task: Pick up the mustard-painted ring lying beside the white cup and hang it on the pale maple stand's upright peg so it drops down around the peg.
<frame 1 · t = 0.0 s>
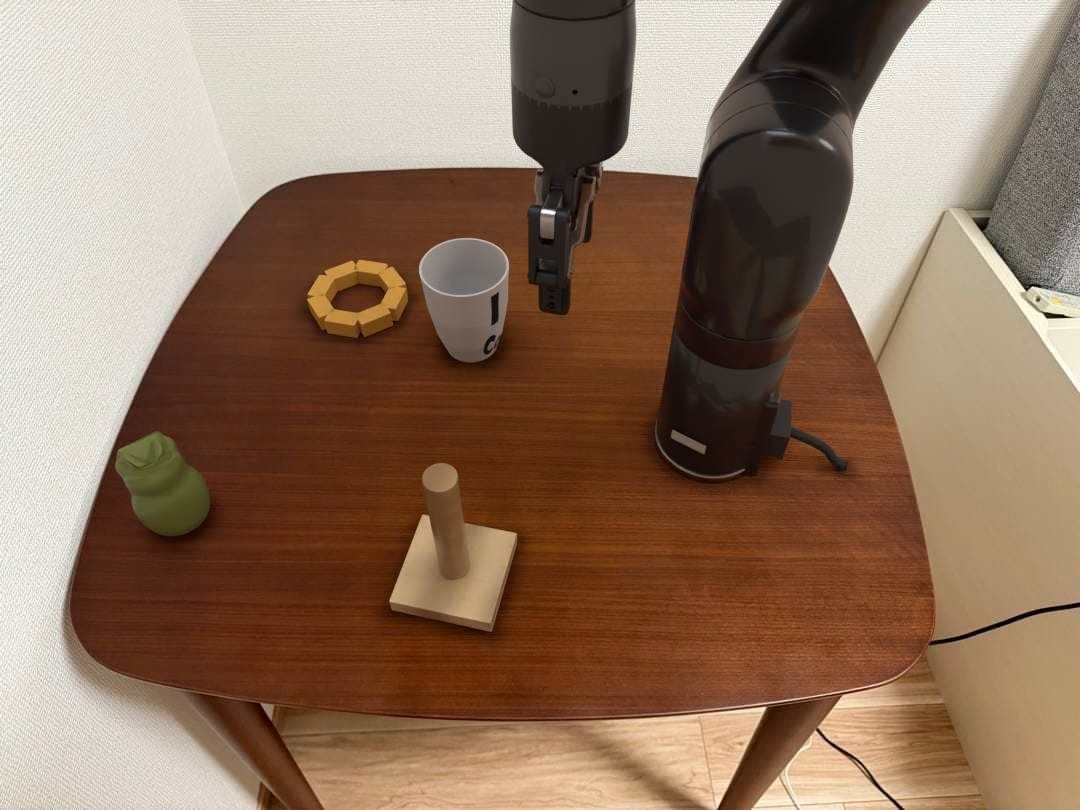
hand: (566, 273, 62), 17 cm above the table, tool pointing down, fingers open, 8 cm apart
stand: (456, 575, 65), on the table
cup: (471, 345, 82), on the table
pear: (185, 521, 69), on the table
ring: (359, 304, 85), on the table
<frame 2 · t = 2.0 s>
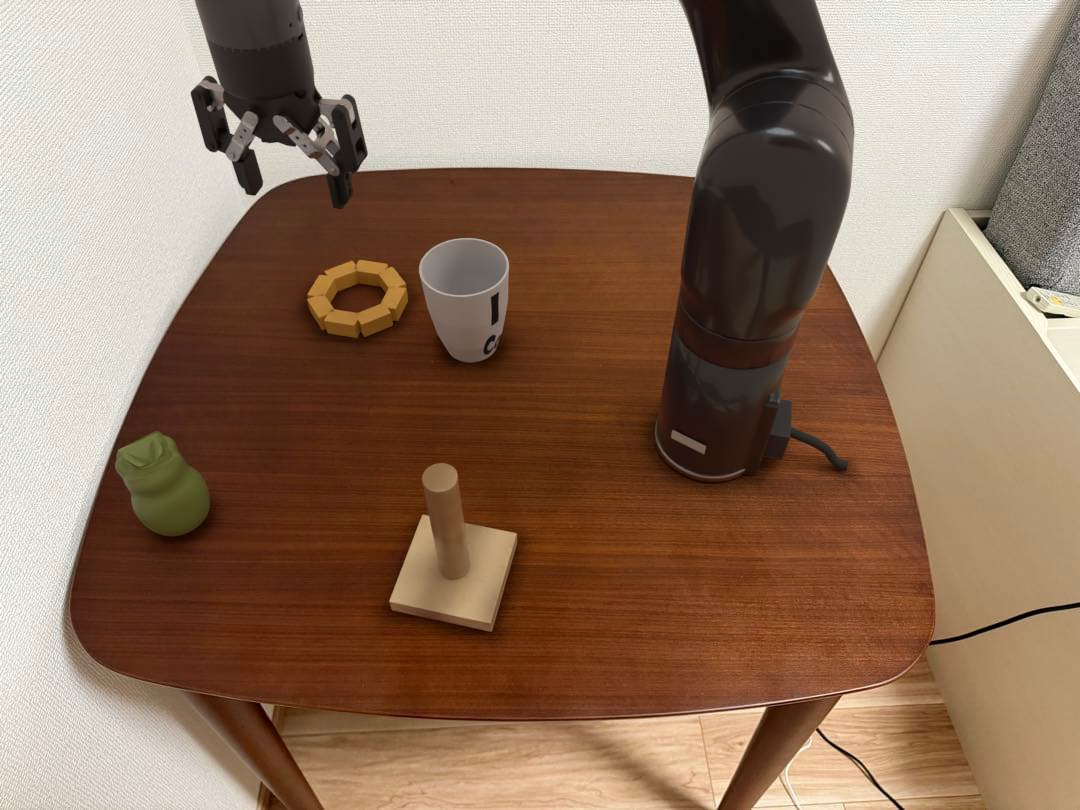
hand: (298, 197, 76), 13 cm above the table, tool pointing down, fingers open, 8 cm apart
nothing on the table moved.
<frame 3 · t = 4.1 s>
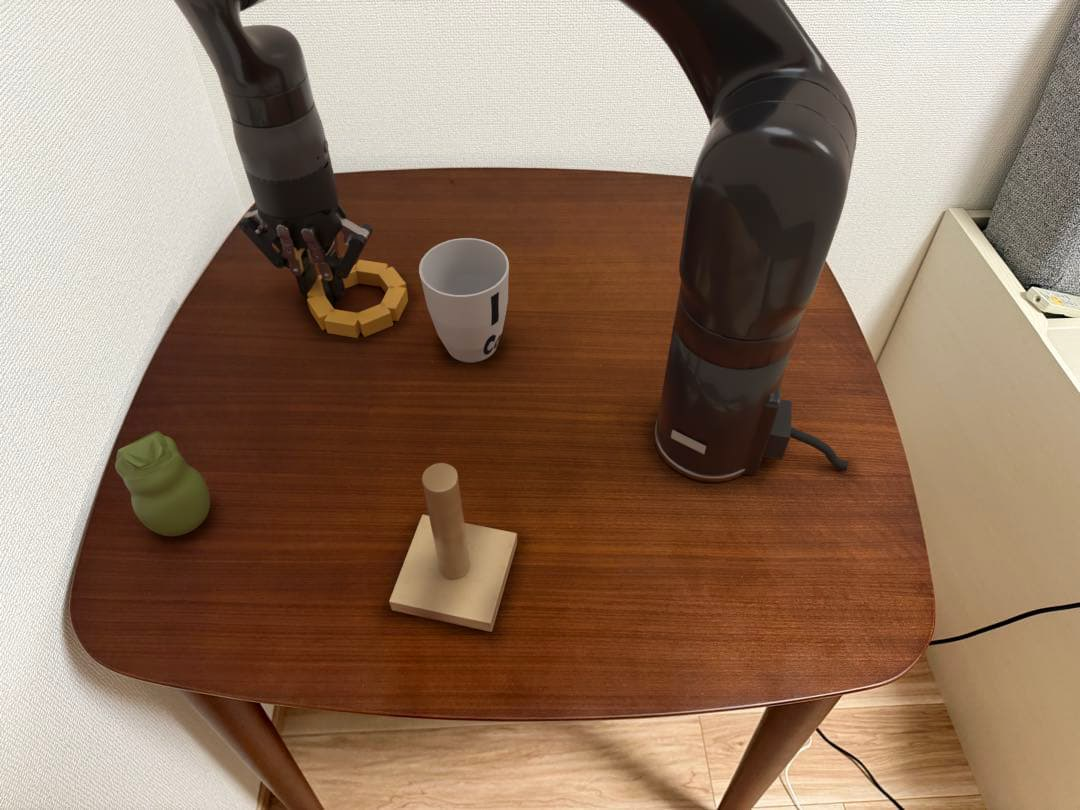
hand: (324, 298, 86), 0 cm above the table, tool pointing down, fingers closed on ring, 2 cm apart
ring: (359, 304, 85), on the table, touching gripper
everything else where it was.
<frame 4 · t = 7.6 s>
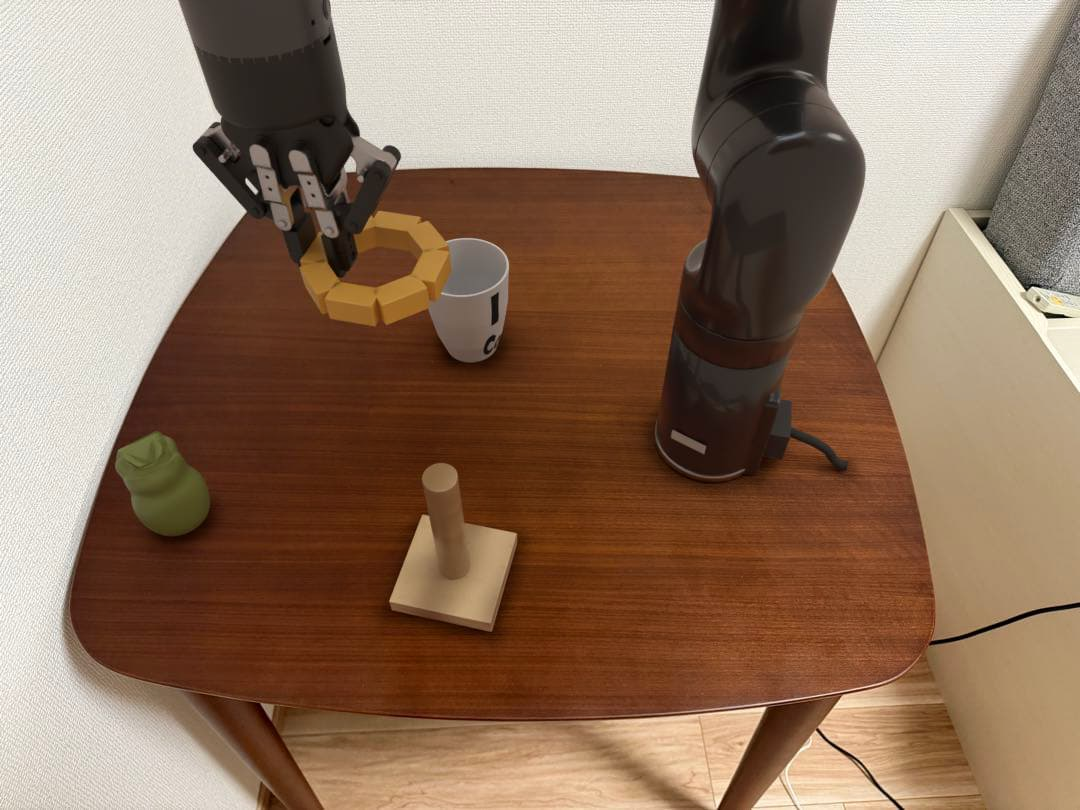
hand: (327, 266, 57), 21 cm above the table, tool pointing down, fingers closed on ring
ring: (379, 276, 57), point 21 cm above the table, touching gripper
everything else where it was.
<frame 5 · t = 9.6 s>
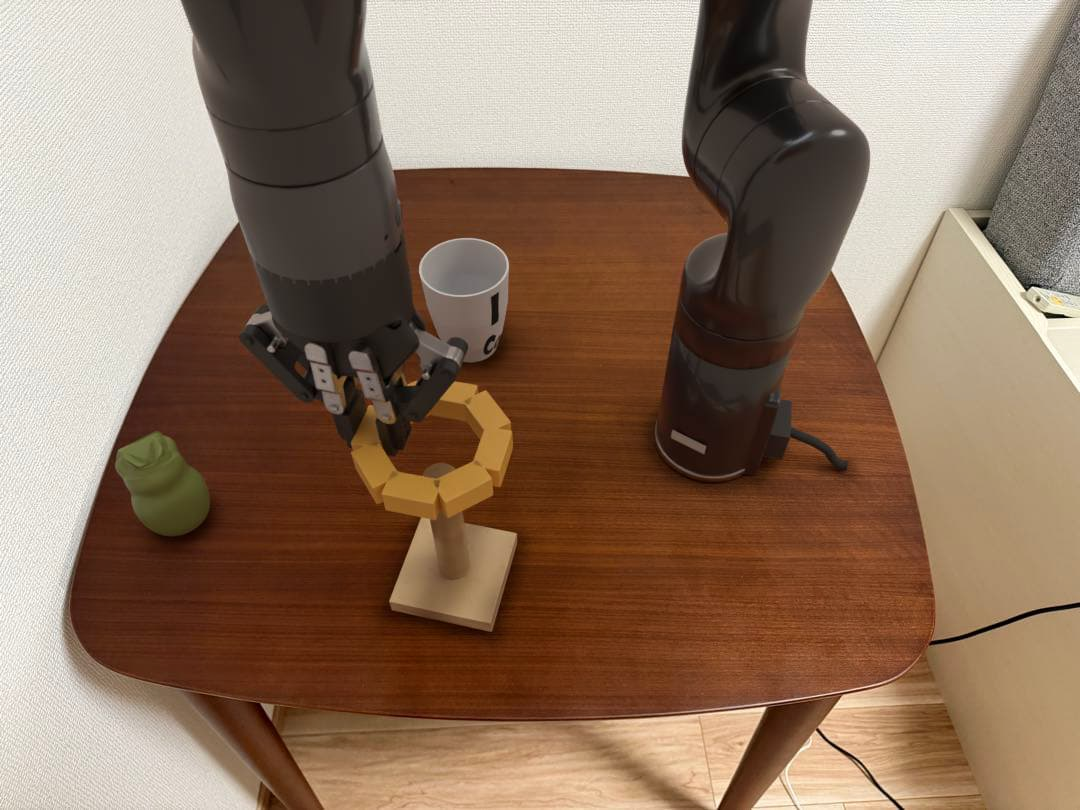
hand: (378, 441, 53), 16 cm above the table, tool pointing down, fingers closed on ring
ring: (434, 453, 53), point 16 cm above the table, touching gripper
everything else where it was.
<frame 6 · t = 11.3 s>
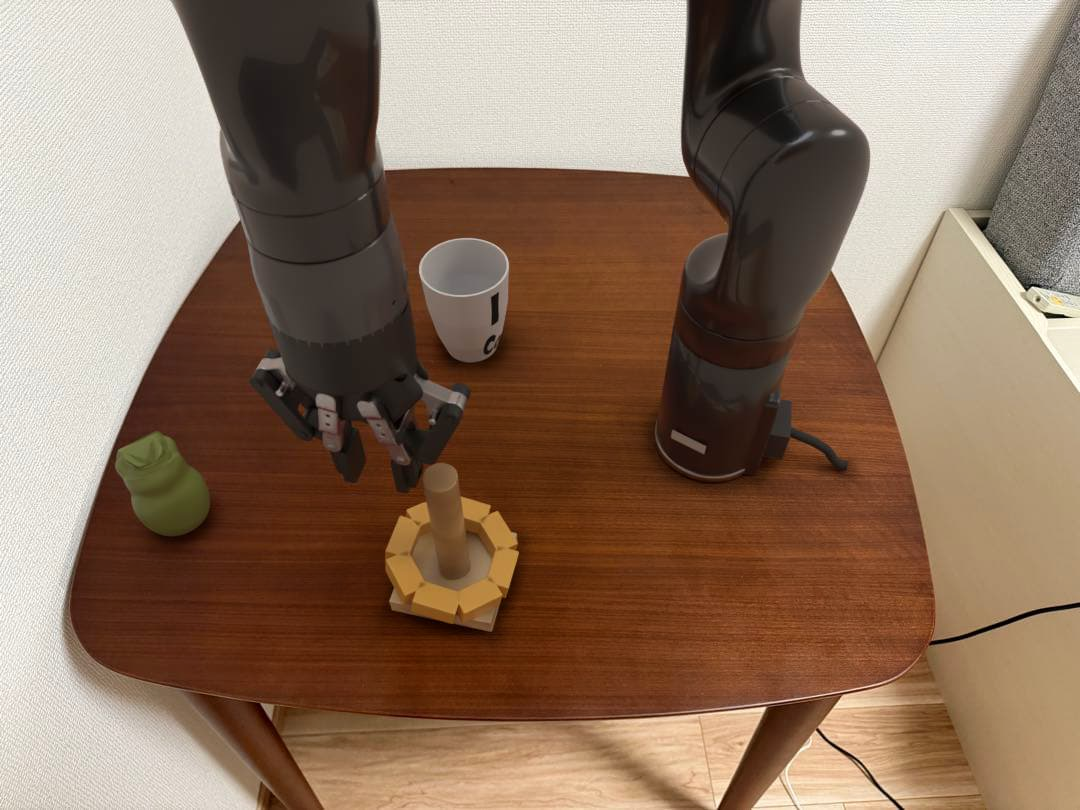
hand: (382, 476, 56), 12 cm above the table, tool pointing down, fingers open, 3 cm apart
ring: (451, 562, 63), point 2 cm above the table, tilted 10°, touching stand
everything else where it was.
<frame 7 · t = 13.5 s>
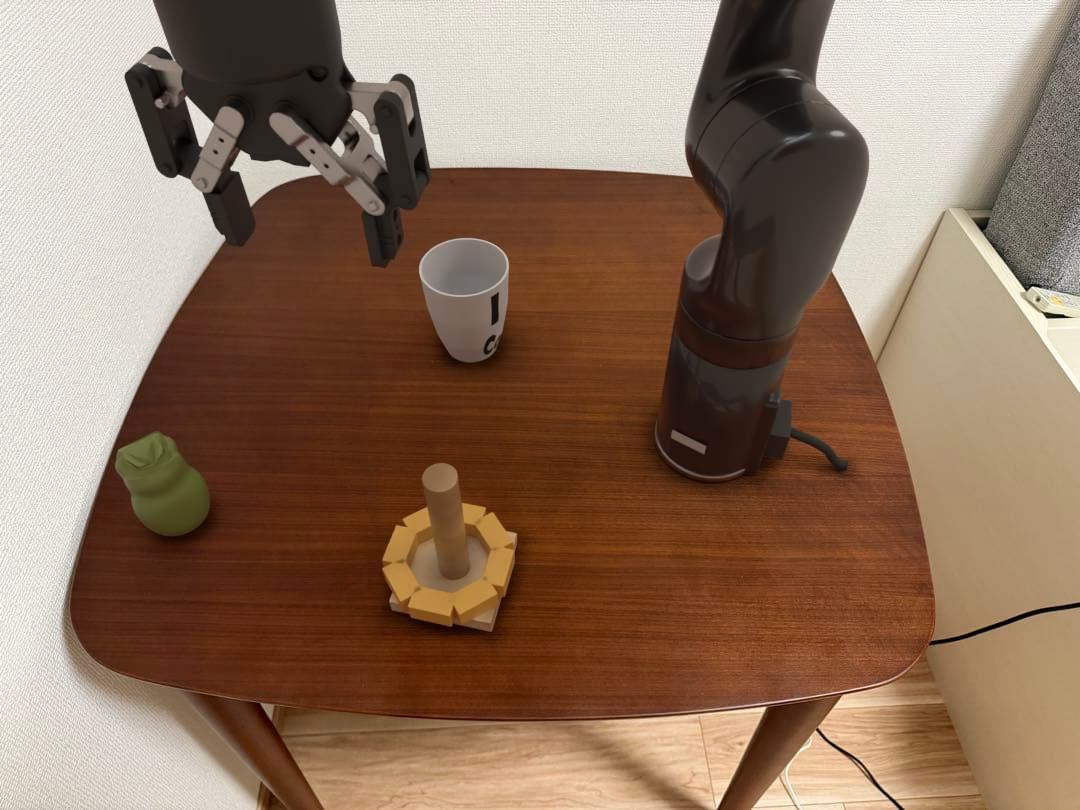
hand: (313, 247, 46), 29 cm above the table, tool pointing down, fingers open, 8 cm apart
ring: (450, 566, 64), point 1 cm above the table, touching stand
everything else where it was.
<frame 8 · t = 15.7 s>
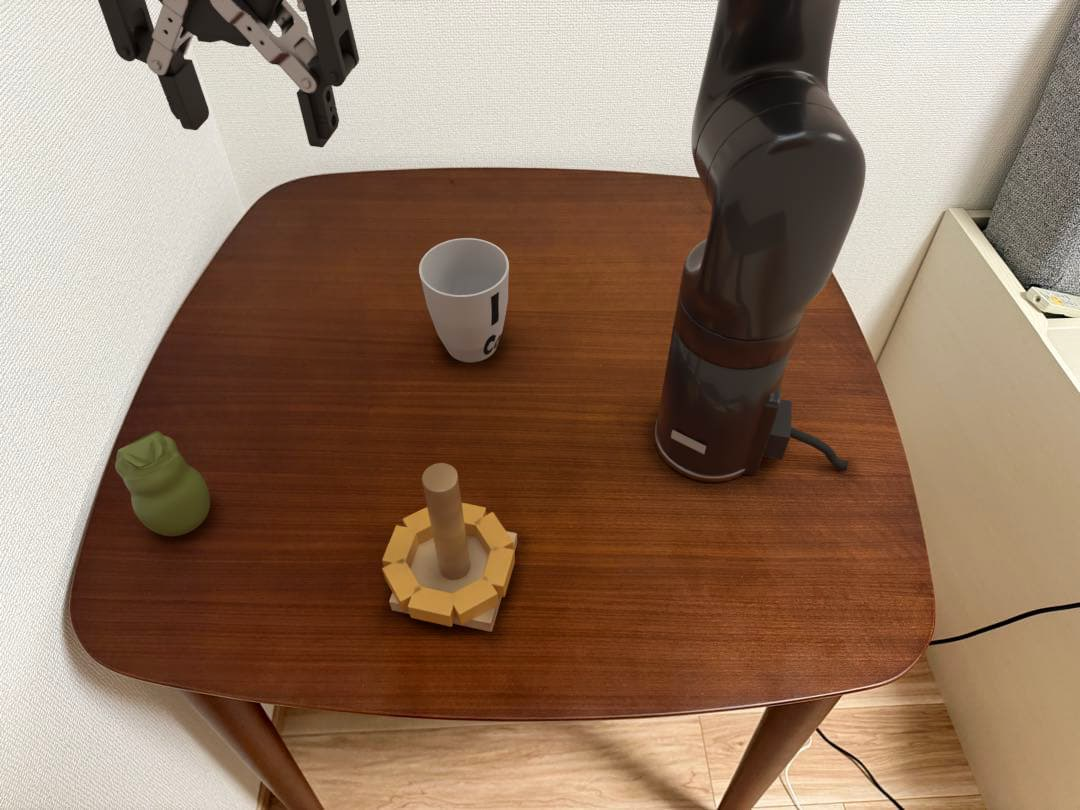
hand: (259, 131, 52), 30 cm above the table, tool pointing down, fingers open, 8 cm apart
nothing on the table moved.
at the end: ring 0.3 cm from the stand (horizontally); ring point 1.5 cm above the table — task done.
